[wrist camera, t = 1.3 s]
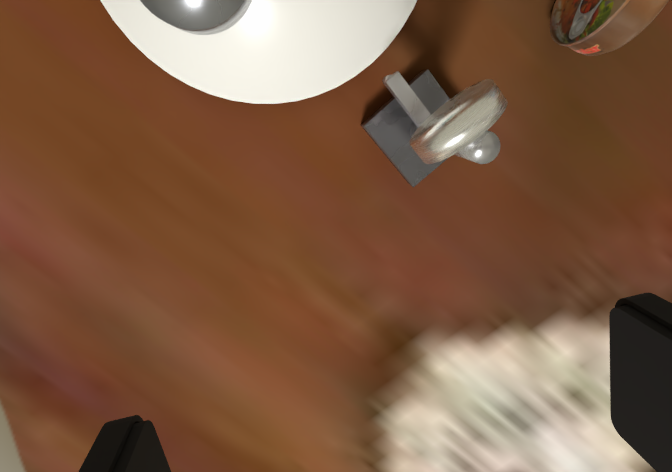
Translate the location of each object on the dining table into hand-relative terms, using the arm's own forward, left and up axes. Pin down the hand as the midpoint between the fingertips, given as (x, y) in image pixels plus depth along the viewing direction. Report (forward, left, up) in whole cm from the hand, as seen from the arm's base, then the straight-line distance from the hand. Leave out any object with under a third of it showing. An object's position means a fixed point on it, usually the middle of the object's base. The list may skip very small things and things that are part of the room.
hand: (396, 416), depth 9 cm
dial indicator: (-8, +2, -28) cm, 29 cm away
